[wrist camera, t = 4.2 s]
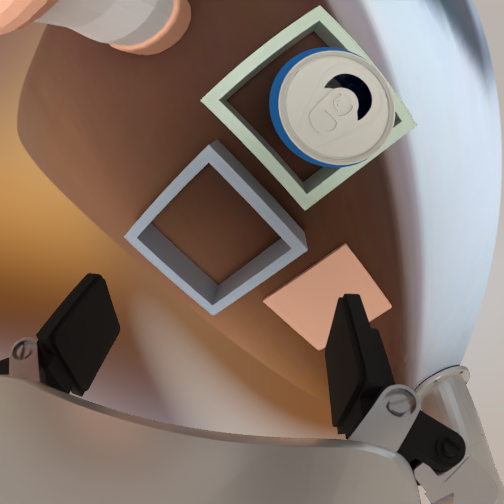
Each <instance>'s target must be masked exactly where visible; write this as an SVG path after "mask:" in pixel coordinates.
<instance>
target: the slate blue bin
mask: <svg viewBox="0 0 504 504" xmlns="http://www.w3.org/2000/svg"><path fill="white" fill-rule="evenodd" d="M208 163H210V164H211V165H212V166H213V167H214V168H215V169H216V170H217V171H218V172H219V173H220V174H221V175H222V176H223V177H224V178H225V179H226V180H227V181H228V182H229V183H230V184H231V185H232V187H233V188H234V189H235V190H236V191H237V192H238V193H239V194H240V195H241V196H242V197H243V198H244V199H245V200H246V201H247V202H248V203H249V204H250V205H251V206H252V207H253V208H254V209H255V210H256V211H257V212H258V213H259V214H260V216H261V217H262V218H263V219H264V220H265V221H266V222H267V223H268V224H269V225H270V226H271V227H272V228H273V229H274V230H275V231H276V232H277V233H278V235H279V236H280V237H281V238H280V239H279V240H278V241H276V242H275V243H274V244H273V245H271V246H270V247H269V248H267V249H266V250H265V251H263V252H262V253H261V254H259V255H258V256H257V257H255V258H254V259H253V260H251V261H250V262H249V263H247V264H246V265H245V266H243V267H242V268H241V269H239V270H238V271H237V272H235V273H234V274H233V275H231V276H230V277H229V278H227V279H226V280H225V281H223V282H222V283H221V284H219V285H218V284H217V283H216V282H214V281H213V280H212V279H211V278H210V277H209V276H208V275H207V274H205V273H204V272H203V271H202V270H201V269H200V268H199V267H198V266H197V265H196V264H194V263H193V262H192V261H191V260H190V259H189V258H188V257H187V256H186V255H185V254H184V253H182V252H181V251H180V250H179V249H178V248H177V247H176V246H175V245H174V244H173V243H172V242H171V241H170V240H168V239H167V238H166V237H165V236H164V235H163V234H162V233H161V232H160V231H159V230H158V229H157V228H156V227H155V226H154V225H153V224H152V223H151V221H152V220H153V219H154V218H155V217H156V216H157V215H158V214H159V213H160V212H161V210H162V209H163V208H164V207H165V206H166V205H167V204H168V203H169V202H170V201H171V200H172V199H173V198H174V197H175V196H176V195H177V194H178V193H179V192H180V191H181V190H182V188H183V187H184V186H185V185H186V184H187V183H188V182H189V181H190V180H191V179H192V178H193V177H194V176H195V175H196V174H197V173H198V172H199V171H200V170H201V169H203V168H204V167H205V166H206V165H207V164H208ZM124 238H126V239H127V240H128V241H129V242H130V243H131V244H132V245H133V246H134V247H135V248H136V249H137V250H138V251H139V252H140V253H142V254H143V255H144V256H145V257H146V258H147V259H148V260H149V261H150V262H151V263H152V264H154V265H155V266H156V267H157V268H158V269H159V270H160V271H161V272H162V273H164V274H165V275H166V276H167V277H168V278H169V279H170V280H171V281H173V282H174V283H175V284H176V285H177V286H178V287H180V288H181V289H182V290H183V291H184V292H185V293H186V294H188V295H189V296H190V297H191V298H192V299H194V300H195V301H196V302H197V303H198V304H200V305H201V306H202V307H203V308H204V309H206V310H207V311H208V312H209V313H210V314H212V315H213V316H214V315H215V314H217V313H218V312H220V311H221V310H223V309H224V308H225V307H227V306H228V305H230V304H231V303H233V302H234V301H236V300H237V299H239V298H240V297H242V296H243V295H245V294H246V293H247V292H249V291H250V290H252V289H253V288H255V287H256V286H258V285H259V284H260V283H262V282H263V281H265V280H266V279H268V278H269V277H270V276H272V275H273V274H275V273H276V272H278V271H279V270H280V269H282V268H283V267H285V266H286V265H288V264H289V263H290V262H292V261H293V260H295V259H296V258H297V257H299V256H300V255H302V254H303V253H304V252H306V251H307V250H308V247H307V242H306V237H305V232H304V231H303V230H302V229H301V228H300V227H299V226H298V224H297V223H296V222H295V221H294V220H293V219H292V218H291V217H290V215H289V214H288V213H287V212H286V211H285V210H284V209H283V208H282V207H281V205H280V204H279V203H278V202H277V201H276V200H275V199H274V198H273V197H272V196H271V195H270V193H269V192H268V191H267V190H266V189H265V188H264V187H263V186H262V185H261V184H260V183H259V182H258V181H257V180H256V178H255V177H254V176H253V175H252V174H251V173H250V172H249V171H248V170H247V169H246V168H245V167H244V166H243V165H242V164H241V163H240V162H239V161H238V160H237V159H236V158H235V157H234V155H233V154H232V153H231V152H230V151H229V150H228V149H227V148H226V147H225V146H224V145H223V144H222V143H221V142H220V141H219V140H218V139H217V140H215V141H214V142H212V143H211V144H209V145H208V146H207V147H206V148H205V149H204V150H203V151H202V152H201V153H200V154H199V155H198V156H197V157H196V158H195V159H194V160H193V161H192V162H191V163H190V164H189V165H188V166H187V167H186V168H185V169H184V170H183V171H182V172H181V173H180V174H179V175H178V176H177V177H176V178H175V179H174V180H173V182H172V183H171V184H170V185H169V186H168V187H167V188H166V189H165V190H164V191H163V192H162V193H161V195H160V196H159V197H158V198H157V199H156V200H155V201H154V202H153V203H152V205H151V206H150V207H149V208H148V209H147V210H146V211H145V213H144V214H143V215H142V216H141V217H140V218H139V219H138V221H137V222H136V223H135V224H134V225H133V227H132V228H131V229H130V230H129V231H128V233H127V234H126V235H125V236H124Z"/></svg>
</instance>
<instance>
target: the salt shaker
mask: <svg viewBox="0 0 504 504" xmlns="http://www.w3.org/2000/svg"><path fill="white" fill-rule="evenodd" d="M190 20H191V7H190V5H189V2H188V0H0V35H1V34H5V33H8V32H12V31H15V30H18V29H21V28H23V27H25V26H27V25H29V24H30V23H32V22H40V23H47V24H53V25H58V26H64V27H68V28H70V29H72V30H74V31H76V32H78V33H80V34H82V35H84V36H86V37H88V38H90V39H93V40H95V41H98V42H103V43H109V44H110V46H111V47H114V48H116V49H118V50H121V51H125V52H129V53H133V54H137V55H152V54H157V53H160V52H162V51H164V50H166V49H168V48H170V47H172V46H173V45H174V44H175V43H176V42H178V41H179V40H180V39H181V37H182V36H183V35H184V33H185V32H186V30H187V29H188V26H189V23H190Z"/></svg>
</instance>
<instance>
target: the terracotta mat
mask: <svg viewBox="0 0 504 504" xmlns="http://www.w3.org/2000/svg"><path fill="white" fill-rule="evenodd" d="M344 294H359V295H360V297H361V300H362V302H363V305H364V308H365V311H366V314H367V317H368V321H369V322H370V321H371V320H373V319H374V318H376V317H378V316H379V315H381V314H382V313H384V312H386V311H387V310H389V309H390V308H392V305H391V304H390V302H389V301H388V300H387V298H386V297H385V295H384V294H383V292H382V291H381V290H380V288H379V287H378V285H377V284H376V283H375V281H374V280H373V279H372V277H371V276H370V274H369V273H368V272H367V270H366V269H365V268H364V266H363V265H362V264H361V262H360V261H359V260H358V258H357V257H356V256H355V254H354V253H353V252H352V251H351V249H350V248H349V247H348V245H347V244H346V243H343V244H342V245H341V246H339V247H338V248H336V249H335V250H334V251H332V252H331V253H329V254H328V255H326V256H325V257H324V258H322V259H321V260H319V261H318V262H316V263H315V264H314V265H312V266H311V267H309V268H308V269H306V270H305V271H303V272H302V273H301V274H299V275H298V276H296V277H295V278H293V279H292V280H290V281H289V282H287V283H286V284H284V285H283V286H281V287H280V288H278V289H277V290H275V291H274V292H272V293H271V294H269V295H268V296H266V297H265V298H263V302H264V303H265V304H266V305H267V306H269V307H270V308H271V309H272V310H273V311H274V312H275V313H276V314H277V315H279V316H280V317H281V318H282V319H283V320H284V321H285V322H286V323H288V324H289V325H290V326H291V327H292V328H293V329H294V330H296V331H297V332H298V333H299V334H300V335H301V336H302V337H303V338H305V339H306V340H307V341H308V342H309V343H310V344H312V345H313V346H314V347H315V348H316V349H317V350H318V351H319V350H321V349H322V348H324V347H326V343H327V340H328V336H329V332H330V329H331V325H332V321H333V317H334V313H335V309H336V305H337V301H338V298H339V297H343V295H344Z"/></svg>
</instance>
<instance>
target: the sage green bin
mask: <svg viewBox="0 0 504 504" xmlns="http://www.w3.org/2000/svg"><path fill="white" fill-rule="evenodd" d="M313 31H314V32H315V33H316V34H317V35H318V36H319V37H320V38H321V39H322V40H323V41H324V42H325V43H326V44H327V45H328V46H329V47H334V48H340V49H344V50H348V51H350V52H353V53H355V54H357V55H359V56H361V57H363V58H364V59H366V60H367V61H368V62H370V63H371V64H372V65H373V66H374V67H376V66H375V65H374V63H373V62H372V61H371V60H370V58H369V57H368V56H367V55H366V54H365V52H364V51H363V50H362V49H361V48H360V47H359V45H358V44H357V43H356V42H355V41H354V40H353V39H352V38H351V36H350V35H349V34H348V33H347V32H346V31H345V30H344V29H343V28H342V27H341V26H340V25H339V24H338V23H337V22H336V21H335V20H334V19H333V18H332V17H331V16H330V15H329V14H328V13H327V12H326V11H325V10H324V9H323V8H322V7H321V6H318V7H316V8H315V9H313V10H312V11H310V12H309V13H307V14H306V15H304V16H303V17H301V18H300V19H298V20H297V21H295V22H294V23H292V24H291V25H290V26H288V27H287V28H285V29H284V30H283V31H281V32H280V33H279V34H277V35H276V36H274V37H273V38H272V39H271V40H269V41H268V42H267V43H265V44H264V45H263V46H261V47H260V48H259V49H258V50H256V51H255V52H254V53H253V54H252V55H250V56H249V57H248V58H247V59H245V60H244V61H243V62H242V63H241V64H240V65H238V66H237V67H236V68H235V69H234V70H233V71H231V72H230V73H229V74H228V75H227V76H226V77H225V78H224V79H222V80H221V81H220V82H219V83H218V84H217V85H216V86H215V87H214V88H213V89H212V90H211V91H209V92H208V93H207V94H206V95H205V96H204V97H203V98H202V99H201V100H200V101H201V102H203V103H204V104H205V105H206V106H207V107H208V108H209V109H210V110H211V111H212V112H213V113H214V114H215V115H216V116H217V117H218V118H219V119H220V120H221V121H222V122H223V123H224V124H225V125H226V126H227V127H228V128H229V129H230V130H231V131H232V132H233V133H234V134H235V135H236V136H237V137H238V138H239V139H240V140H241V141H242V143H243V144H244V145H245V146H246V147H247V148H248V149H249V150H250V151H251V152H252V153H253V154H254V155H255V156H256V157H257V158H258V159H259V160H260V161H261V163H262V164H263V165H264V166H265V167H266V168H267V169H268V170H269V171H270V172H271V173H272V174H273V176H274V177H275V178H276V179H277V180H278V181H279V182H280V183H281V184H282V186H283V187H284V188H285V189H286V190H287V191H288V192H289V193H290V195H291V196H292V197H293V198H294V199H295V200H296V201H297V202H298V204H299V205H300V206H301V207H302V208H303V209H304V211H305V210H307V209H308V208H309V207H311V206H312V205H313V204H315V203H316V202H317V201H318V200H320V199H321V198H322V197H324V196H325V195H326V194H328V193H329V192H330V191H332V190H333V189H334V188H335V187H337V186H338V185H339V184H341V183H342V182H343V181H345V180H346V179H347V178H348V177H350V176H351V175H352V174H354V173H355V172H356V171H358V170H359V169H360V168H362V167H363V166H364V165H365V164H367V163H368V162H369V161H371V160H372V159H373V158H375V157H376V156H377V155H379V154H380V153H381V152H382V151H384V150H385V149H386V148H388V147H389V146H390V145H392V144H393V143H394V142H395V141H397V140H398V139H399V138H401V137H402V136H403V135H405V134H406V133H407V132H409V131H410V130H411V129H412V128H414V127H415V126H416V125H417V124H416V123H415V121H414V119H413V118H412V116H411V115H410V113H409V112H408V110H407V109H406V107H405V106H404V104H403V103H402V101H401V100H400V98H399V97H398V95H397V94H396V92H395V91H394V90H393V88H392V87H391V85H390V84H389V83H388V84H389V86H390V88H391V91H392V94H393V97H394V102H395V121H394V126H393V129H392V132H391V134H390V136H389V138H388V140H387V141H386V143H385V144H384V145H383V146H382V148H381V149H380V150H379V151H378V152H376V153H375V154H374V155H372V156H371V157H370V158H368V159H367V160H365V161H363V162H361V163H359V164H356V165H352V166H348V167H341V168H331V167H322V168H321V169H319V170H318V171H317V172H316V173H314V174H313V175H312V176H310V177H309V178H308V179H307V180H305V181H304V182H302V181H301V180H300V179H299V177H298V176H297V175H296V174H295V173H294V172H293V170H292V169H291V168H290V167H289V166H288V165H287V164H286V163H285V161H284V160H283V159H282V158H281V157H280V156H279V155H278V154H277V153H276V151H275V150H274V149H273V148H272V147H271V146H270V145H269V144H268V143H267V142H266V141H265V139H264V138H263V137H262V136H261V135H260V134H259V133H258V132H257V131H256V130H255V129H254V128H253V127H252V126H251V125H250V124H249V123H248V122H247V121H246V120H245V119H244V118H243V117H242V115H241V114H240V113H239V112H238V111H237V110H236V109H235V108H234V107H233V106H232V105H231V104H230V103H229V102H228V101H227V99H229V98H230V97H231V96H232V95H233V94H234V93H235V92H236V91H237V90H239V89H240V88H241V87H242V86H243V85H244V84H245V83H247V82H248V81H249V80H250V79H251V78H253V77H254V76H255V75H256V74H257V73H259V72H260V71H261V70H262V69H263V68H265V67H266V66H267V65H268V64H270V63H271V62H272V61H273V60H275V59H276V58H277V57H279V56H280V55H281V54H282V53H284V52H285V51H286V50H288V49H289V48H290V47H292V46H293V45H294V44H296V43H297V42H299V41H300V40H301V39H303V38H304V37H306V36H307V35H308V34H310V33H311V32H313ZM376 68H377V67H376ZM377 69H378V68H377ZM380 73H381V72H380ZM381 74H382V73H381ZM384 78H385V77H384ZM386 81H387V80H386ZM387 82H388V81H387Z"/></svg>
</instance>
